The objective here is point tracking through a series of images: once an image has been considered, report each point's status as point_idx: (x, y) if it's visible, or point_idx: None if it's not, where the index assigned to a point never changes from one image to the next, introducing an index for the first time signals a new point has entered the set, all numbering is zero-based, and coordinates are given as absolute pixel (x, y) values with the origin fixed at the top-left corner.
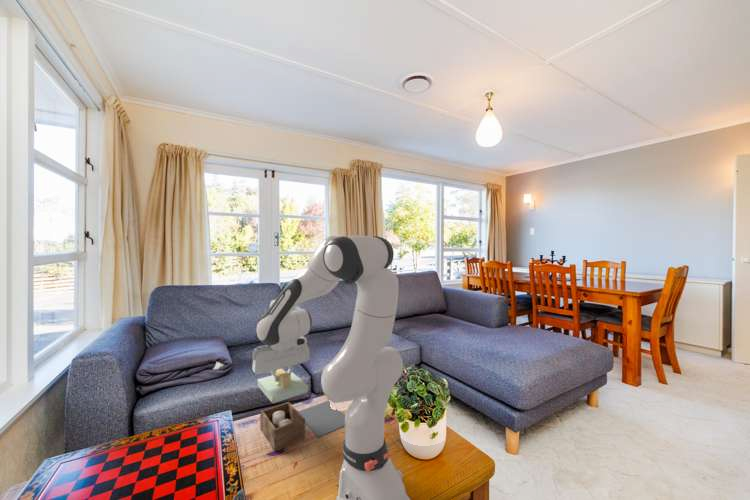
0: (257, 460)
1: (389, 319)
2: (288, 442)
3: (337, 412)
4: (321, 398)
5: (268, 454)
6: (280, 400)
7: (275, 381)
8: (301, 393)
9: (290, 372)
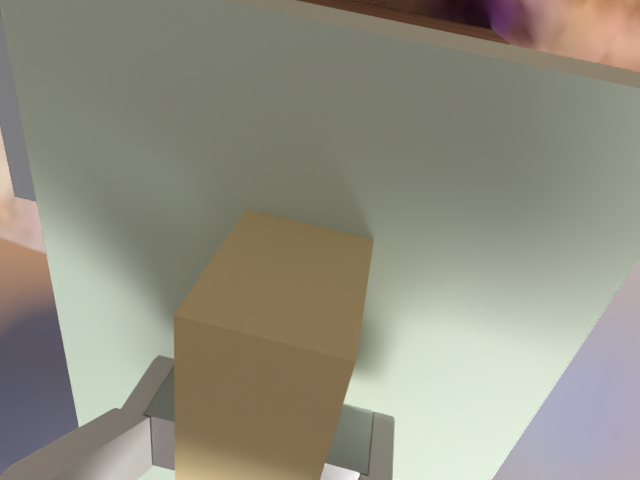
0: (609, 35)
1: None
2: (399, 11)
3: (7, 52)
4: (40, 242)
5: (531, 32)
6: (541, 54)
7: (391, 420)
8: None
9: (115, 421)
